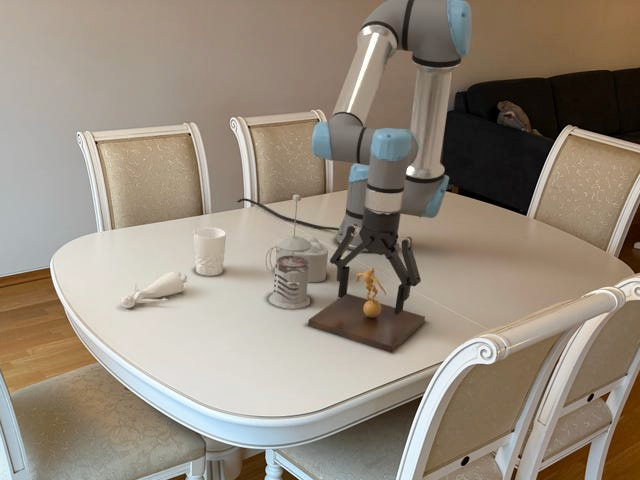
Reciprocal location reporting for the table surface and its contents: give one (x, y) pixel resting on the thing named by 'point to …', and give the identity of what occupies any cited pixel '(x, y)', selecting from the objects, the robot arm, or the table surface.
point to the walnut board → (367, 323)
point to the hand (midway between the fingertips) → (369, 303)
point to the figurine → (371, 306)
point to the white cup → (209, 250)
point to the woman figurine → (156, 290)
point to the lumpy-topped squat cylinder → (310, 260)
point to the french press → (289, 293)
